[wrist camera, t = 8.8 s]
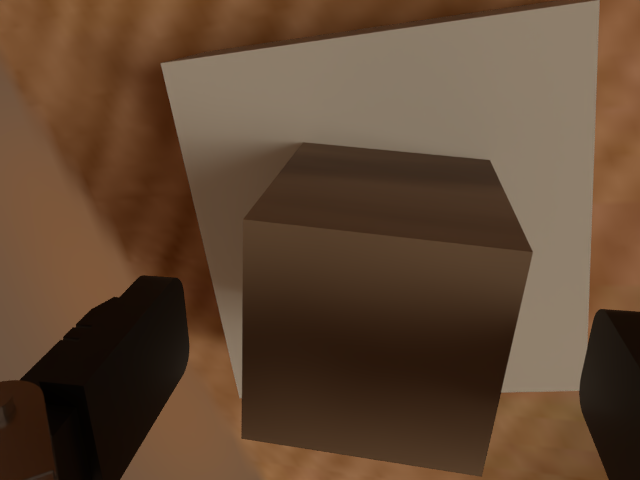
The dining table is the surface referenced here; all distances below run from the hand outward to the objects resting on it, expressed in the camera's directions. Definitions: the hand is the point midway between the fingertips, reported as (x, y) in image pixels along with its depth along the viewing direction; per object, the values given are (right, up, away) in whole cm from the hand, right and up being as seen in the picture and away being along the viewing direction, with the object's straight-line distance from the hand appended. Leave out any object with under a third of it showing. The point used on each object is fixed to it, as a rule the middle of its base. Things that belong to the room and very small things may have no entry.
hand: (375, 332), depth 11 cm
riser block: (+1, +3, +9) cm, 10 cm away
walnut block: (+1, +2, +5) cm, 6 cm away
